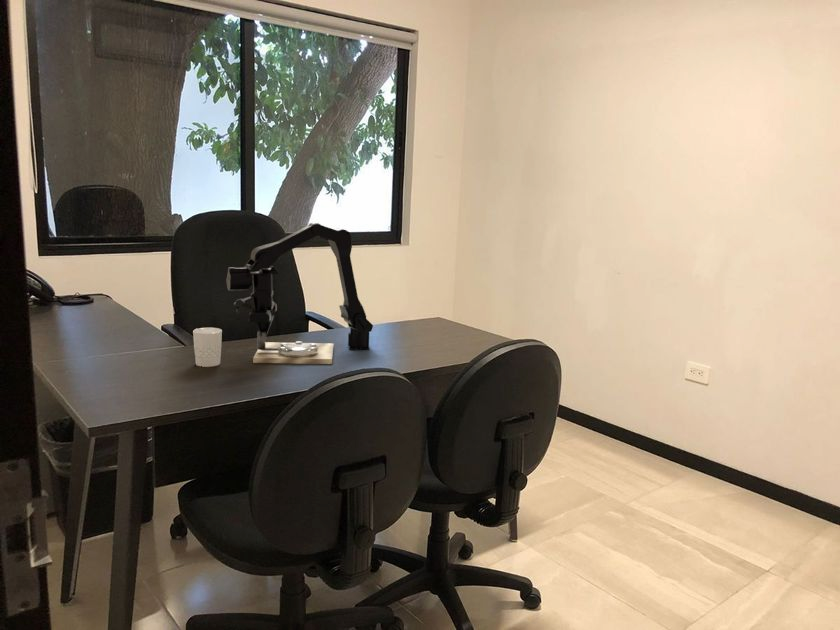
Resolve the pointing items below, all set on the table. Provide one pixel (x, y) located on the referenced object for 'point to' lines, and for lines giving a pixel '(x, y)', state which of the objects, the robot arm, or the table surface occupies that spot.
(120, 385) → the table surface
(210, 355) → the white cup
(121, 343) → the table surface
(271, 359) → the base plate
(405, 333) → the table surface
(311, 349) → the grey metal part
